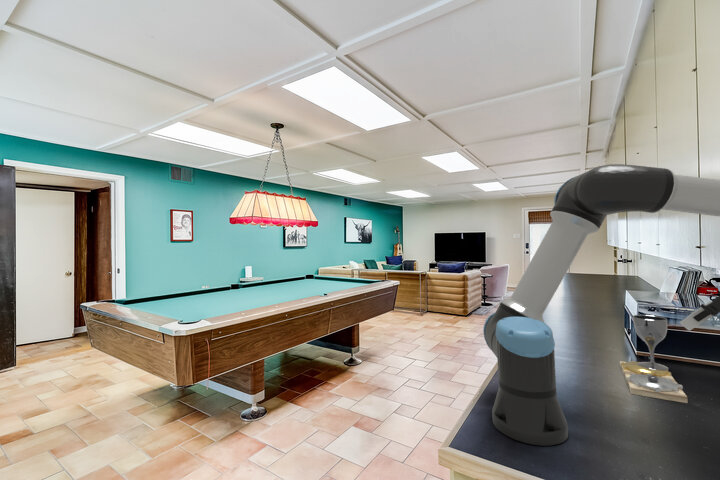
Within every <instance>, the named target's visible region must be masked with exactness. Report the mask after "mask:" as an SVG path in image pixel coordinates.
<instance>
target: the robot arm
mask: <svg viewBox="0 0 720 480" xmlns="http://www.w3.org/2000/svg"><path fill="white" fill-rule="evenodd" d="M553 202H554V203H553V204H554V205H553V208H552V209H551V211H550V213H549V215H550V217H551V220H552V221H551V224H550V226H549V227H548V229H547V231H546V233H545V234H544V236H543V238H542V240H541V242H540V243H539V245H538V247H537V250H536V251H535V253H534V255H533V257H532V258H531V260H530V262H529V263H528V265H527V267H526V270H525V271H524V273H523V275H522V276H521V278H520V280H519V281H518V283H517V285H516V287H515V289H514V291H513V293H512V295H511V296H510V298H507V299H504V300H501V301H500V303H499V305H498V307H497V309H496V310H495V312H493V313H491V314H490V315H489V316H488V317H487V318H486V320H485V322H484V325H483V338H484V340H485V342H486V345H487V347H488V348H489V349H490V350H491V352H492V353H493V355H494V356H495V357H496V358H497V371H498V372H497V374H498V390H497V393H496V397H495V399H494V403H493V406H492V409H491V410H492V411H491V412H492V414H491V416H492V424H493V425H494V427H495V428H496V429H497V431H499V432H500V433H502V434H503V435H505V436H507V437H508V438H510V439H513V440H516V441H517V442H521V443H525V444H529V445H534V446H543V447H544V446H555V445H560V444H562V443H564V442H565V441H566V440H567V439H568V437H569V426H568V421H567V419H566V417H565V414H564V411H563V409H562V406H561V404H560V402H559V399H558V397H557V381H556V380H557V379H556V378H557V376H556V357H555V346H556V345H555V344H556V342H555V338H554V334H553V333H554V332H553V330H552V328H551V327H550V325H549V324H547V323H546V322H545V320H544V317H543V315H544V313H545V311H546V310H547V308H548V306H549V305H550V302H551V301H552V299H553V298H554V296H555V293H556V292H557V290H558V289H559V286H560V285H561V283H562V281H563V280H564V278H565V276H566V274H567V272H568V271H569V269H570V267H571V265H572V264H573V262H574V260H575V258H576V256H577V255H578V253H579V251H580V249H581V247H582V246H583V244H584V242H585V240H586V238H587V236H589V235H591V234H594V233H597V232H598V231H599V230H600V229H601V227H602V225H603V223H604V221H605V219H606V217H608V215H609V216H610V215H613V214H620V213H629V212H634V213H635V212H640V213H641V212H642V213H650V214H651V213H652V214H654V213H655V214H656V213H658V212H661V211H662V210H663V211H664V210H665V211H673V212H680V213H689V214H695V215H696V214H697V215H704V216H705V215H706V216H713V217H720V179H715V178H709V177H700V176H699V177H698V176H689V175H683V174H682V175H681V174H675V173H674V172H673V171H672V170H671V169H669V168H665V167H664V168H663V167H655V166H647V165H646V166H645V165H637V164H636V165H634V164H619V163H618V164H617V163H615V164H613V163H610V164H604V165H598V166H596V167H594V168H591V169H589V170H587V171H585V172H582V173H581V174H579V175H576V176H574V177H571V178H569V179H567V180H566V181H565V182H563V184H562V185H560V186H559V188H558V189H557V191H556V193H555V196H554V201H553ZM719 313H720V295H718V296H716V297H715V298H712V300H711V301H709V302H707V303H705V304H704V303H702V304H700V305H699V307H698V309H696V310H694V311H693V312H691V313H690V314H689V315H688V316H687V317H686V318H684V319H682V320H681V321H679V322H678V323H679V324H680V325H681V326H682V327H684V328H685V330H687V331H689V332H690V331H691V330H693V329H694V328H696V327H698V326H699V325H701V324H703V323H704V322H706V321H707V320H709V319H711V318H712V317H714V316H717V315H718V314H719Z"/></svg>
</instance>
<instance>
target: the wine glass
mask: <svg viewBox="0 0 720 480" xmlns="http://www.w3.org/2000/svg"><path fill="white" fill-rule="evenodd" d="M632 321H633V327H634V330H635V334H636V335H637V336H638V337H639V338H640V339H641V341H643V342H645V344H646V345H647V347H648V351H649V355H650V361H641V362H640V361H638V362H639V363H638V365H639V366H641V367H644V368H648V369H653V370H668V371H669V367H667V366H666V365H664V364H661V363H657V362H656V361H655V348H656V346H657V345H658V344H659V343H660V342H662V341H663V340H664V339H665V338H666V336H667V333H668V319H667V317H664V316H659V315H649V314H633V316H632Z"/></svg>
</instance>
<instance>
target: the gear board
mask: <svg viewBox="0 0 720 480" xmlns="http://www.w3.org/2000/svg"><path fill="white" fill-rule="evenodd" d="M639 362H640V361H636V360H631V361H621V360H620V361H619V366H620V370H621V372H622V374H623V377H624V380H625V382H626V385H627V387H628V389H629V392H630V395H635V396H641V397H642V396H643V397H648V398H653V399H654V398H655V399H661V400H666V401H673V402H678V403H684V404H689V403H688V396H687V395H686V393H685V392H684V391H683V390H684V387H683V385H682V384H679V383H678V382H677V381H676V380H675V379H674V377H673V376H672V372H670V371H669V369H668V370H653V369H648V368H644V367H641V366H639V365H638V363H639Z"/></svg>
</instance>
